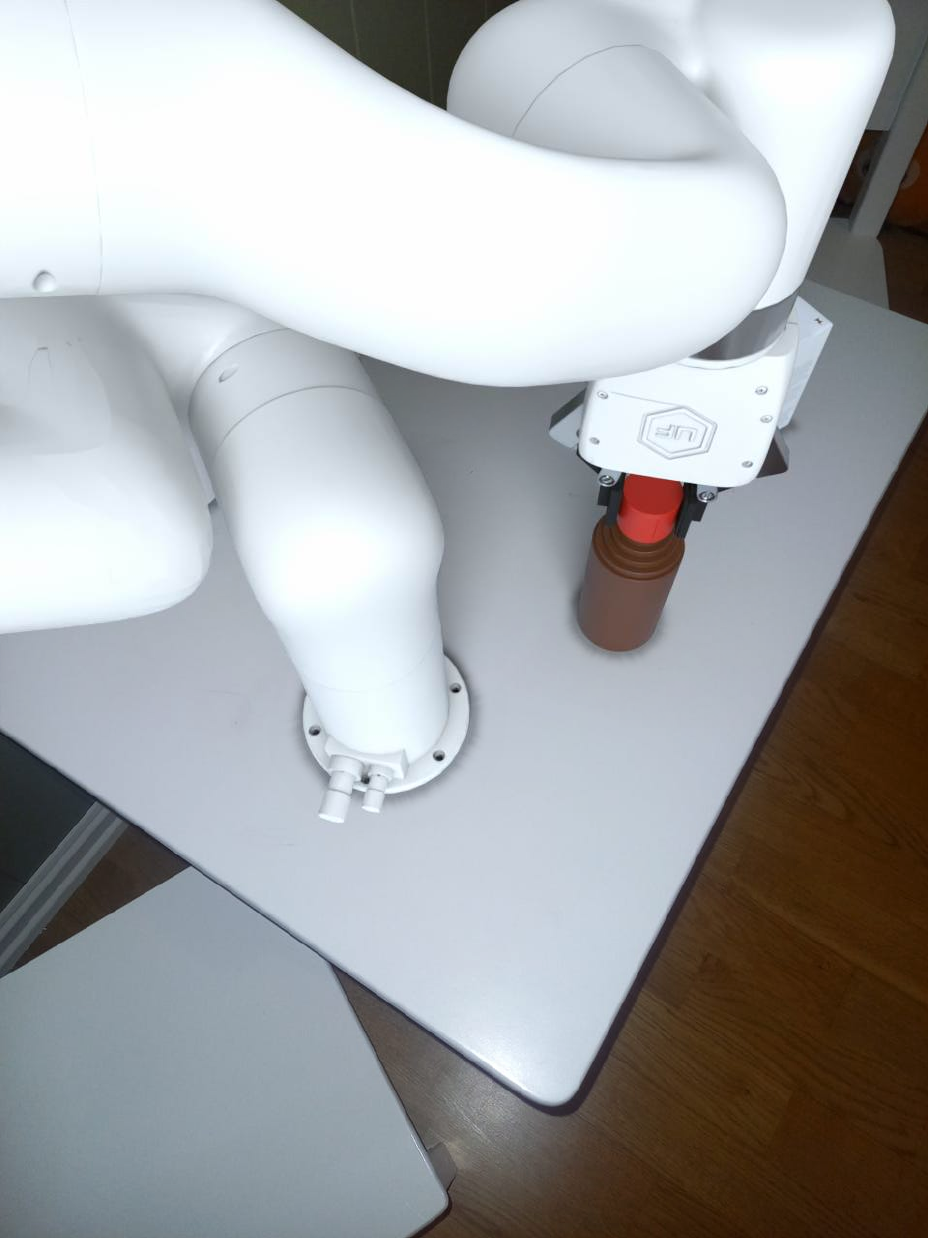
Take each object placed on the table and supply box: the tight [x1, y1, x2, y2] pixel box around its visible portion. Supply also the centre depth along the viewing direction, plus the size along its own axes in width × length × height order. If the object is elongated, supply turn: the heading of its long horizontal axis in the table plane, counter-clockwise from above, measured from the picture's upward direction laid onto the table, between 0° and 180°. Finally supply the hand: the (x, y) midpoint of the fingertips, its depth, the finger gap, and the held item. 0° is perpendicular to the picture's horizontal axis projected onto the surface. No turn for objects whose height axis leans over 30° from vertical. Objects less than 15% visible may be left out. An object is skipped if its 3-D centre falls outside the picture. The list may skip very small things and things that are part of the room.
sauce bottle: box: [576, 512, 686, 653], centre depth 61 cm, size 6×6×16 cm
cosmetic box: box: [777, 295, 834, 430], centre depth 72 cm, size 6×4×12 cm
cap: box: [617, 473, 684, 543], centre depth 55 cm, size 4×4×3 cm
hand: (646, 512), depth 55 cm, fingers open, 3 cm apart
